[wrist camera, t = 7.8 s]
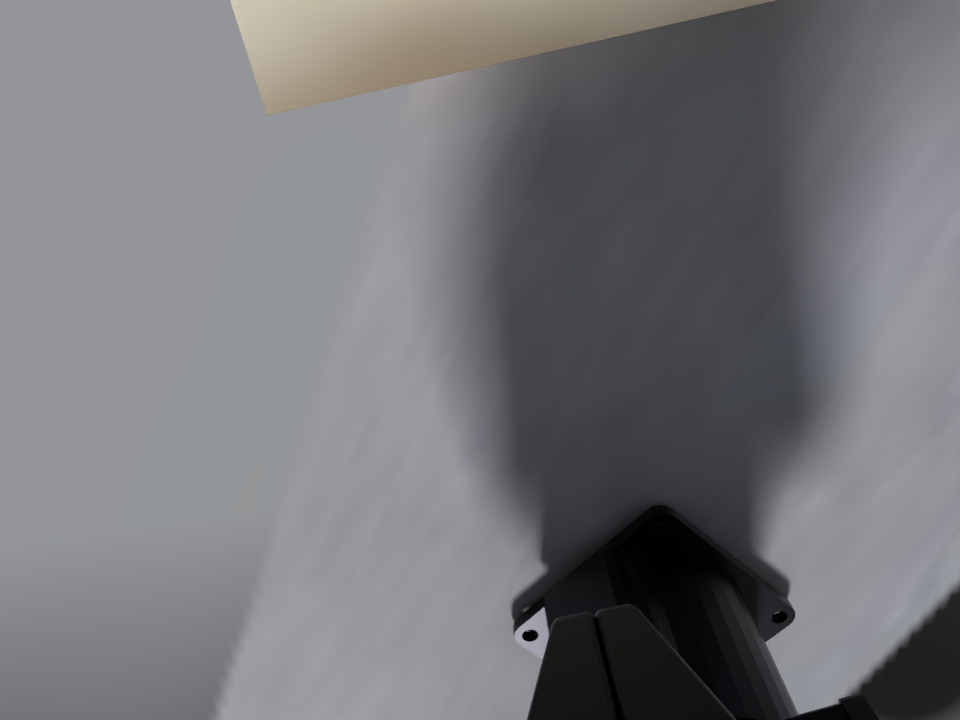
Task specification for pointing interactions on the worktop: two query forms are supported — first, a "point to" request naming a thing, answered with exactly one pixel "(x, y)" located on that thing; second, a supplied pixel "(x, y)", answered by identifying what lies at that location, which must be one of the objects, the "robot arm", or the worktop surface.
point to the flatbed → (425, 38)
